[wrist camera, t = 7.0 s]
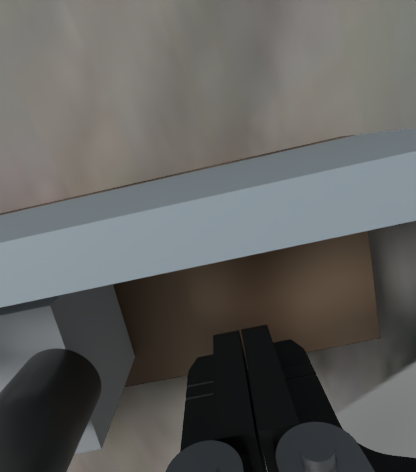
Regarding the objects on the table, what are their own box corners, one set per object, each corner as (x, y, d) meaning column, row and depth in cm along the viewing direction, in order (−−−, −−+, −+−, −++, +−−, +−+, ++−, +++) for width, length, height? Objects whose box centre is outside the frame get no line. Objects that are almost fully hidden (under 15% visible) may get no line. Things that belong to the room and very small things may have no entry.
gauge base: (342, 136, 15) (357, 134, 13) (365, 322, 17) (380, 338, 15) (-107, 237, 16) (-139, 246, 15) (-34, 399, 18) (-56, 421, 17)
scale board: (357, 134, 13) (633, 102, 5) (360, 163, 14) (627, 183, 5) (-139, 246, 15) (-660, 388, 6) (-128, 270, 15) (-610, 441, 6)
